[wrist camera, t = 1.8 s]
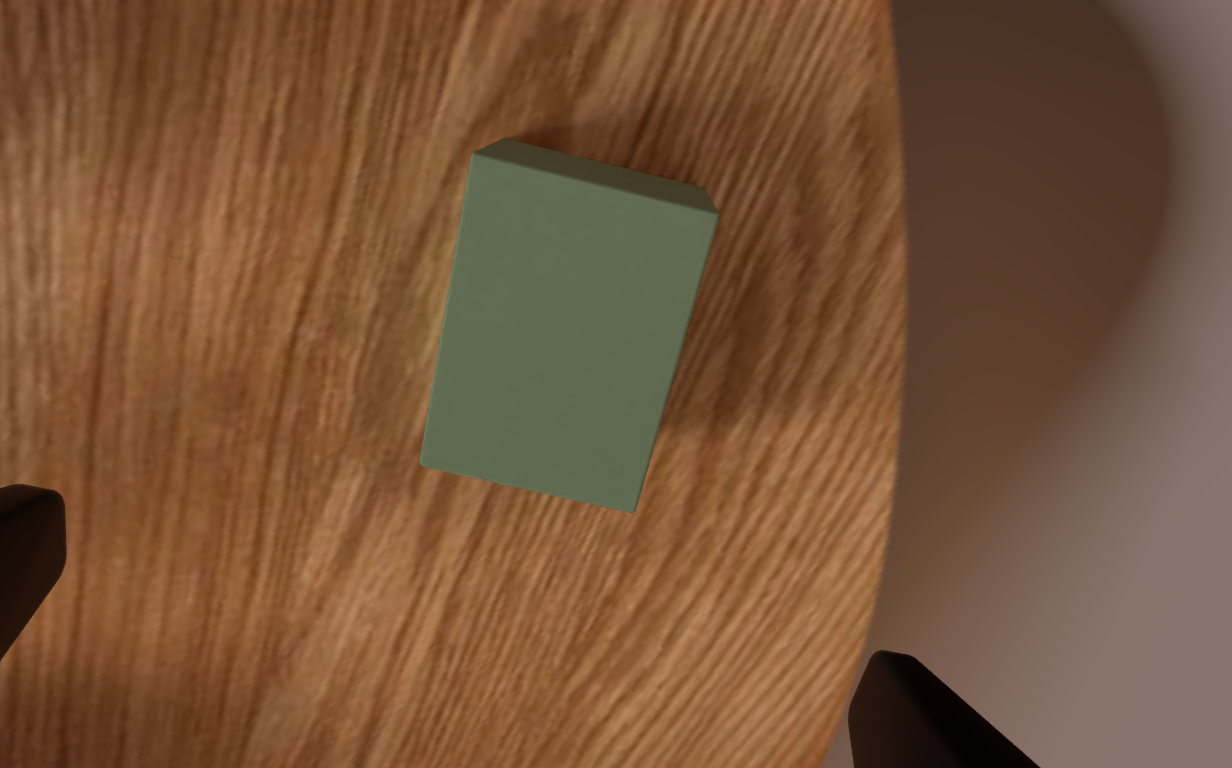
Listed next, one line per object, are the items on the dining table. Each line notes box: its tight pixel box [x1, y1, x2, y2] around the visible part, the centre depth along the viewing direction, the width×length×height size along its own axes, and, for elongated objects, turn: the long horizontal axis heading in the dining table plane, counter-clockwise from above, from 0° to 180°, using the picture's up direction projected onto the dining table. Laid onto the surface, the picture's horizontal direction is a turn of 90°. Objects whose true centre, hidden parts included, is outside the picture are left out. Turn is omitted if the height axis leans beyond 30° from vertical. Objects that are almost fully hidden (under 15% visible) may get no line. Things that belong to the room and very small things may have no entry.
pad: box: [419, 138, 720, 513], centre depth 19 cm, size 5×7×4 cm
